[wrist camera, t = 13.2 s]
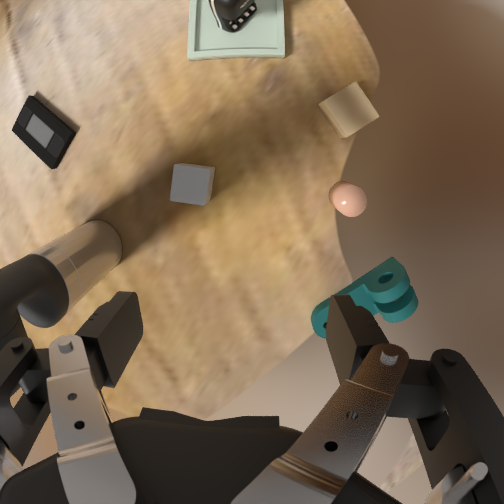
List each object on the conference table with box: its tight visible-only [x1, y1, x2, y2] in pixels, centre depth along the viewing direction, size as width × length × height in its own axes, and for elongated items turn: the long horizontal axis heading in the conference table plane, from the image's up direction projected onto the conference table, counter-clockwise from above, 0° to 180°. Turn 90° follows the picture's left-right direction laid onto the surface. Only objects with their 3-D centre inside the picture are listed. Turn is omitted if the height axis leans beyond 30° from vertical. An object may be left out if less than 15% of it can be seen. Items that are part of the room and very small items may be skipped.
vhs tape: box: [12, 96, 76, 169], centre depth 40 cm, size 8×14×2 cm, turn 50°
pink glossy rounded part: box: [329, 181, 367, 217], centre depth 42 cm, size 4×4×5 cm
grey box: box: [170, 163, 216, 206], centre depth 41 cm, size 5×5×5 cm
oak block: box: [318, 81, 379, 138], centre depth 38 cm, size 6×6×4 cm
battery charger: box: [208, 0, 257, 33], centre depth 29 cm, size 7×4×11 cm, turn 143°
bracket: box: [311, 257, 418, 338], centre depth 46 cm, size 18×7×8 cm, turn 125°
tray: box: [187, 0, 285, 61], centre depth 34 cm, size 14×14×2 cm
